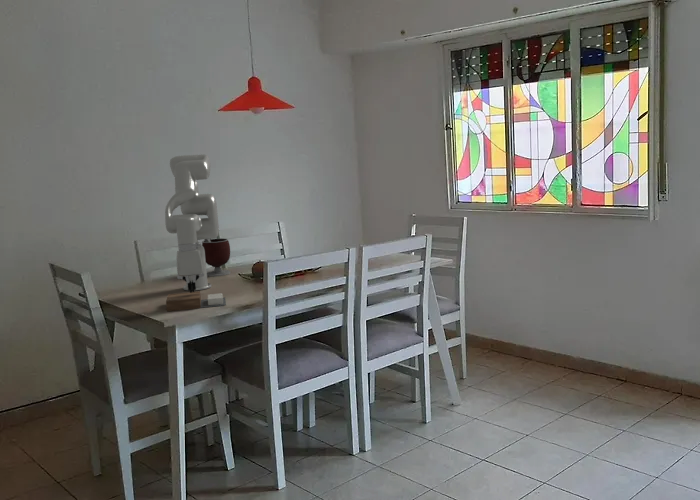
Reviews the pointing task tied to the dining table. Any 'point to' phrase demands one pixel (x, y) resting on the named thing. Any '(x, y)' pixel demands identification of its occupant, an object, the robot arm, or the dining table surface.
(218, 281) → the dining table surface
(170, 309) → the panel
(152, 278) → the dining table surface
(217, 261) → the mate gourd
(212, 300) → the tile
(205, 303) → the mat
